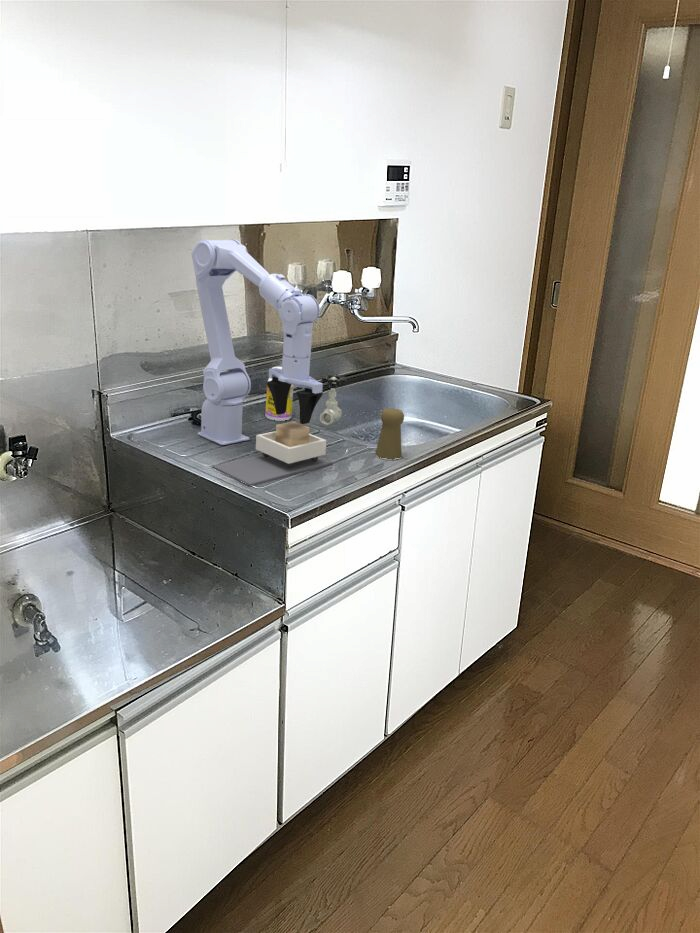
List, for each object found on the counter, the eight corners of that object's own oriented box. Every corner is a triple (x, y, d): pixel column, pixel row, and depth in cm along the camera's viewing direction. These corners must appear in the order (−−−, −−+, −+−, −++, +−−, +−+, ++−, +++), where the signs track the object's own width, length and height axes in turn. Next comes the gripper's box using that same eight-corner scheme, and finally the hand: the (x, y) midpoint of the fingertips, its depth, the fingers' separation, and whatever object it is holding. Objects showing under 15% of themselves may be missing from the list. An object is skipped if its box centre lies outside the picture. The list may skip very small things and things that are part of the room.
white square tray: (255, 456, 167) (256, 435, 166) (292, 447, 175) (293, 427, 173) (288, 471, 161) (289, 449, 159) (324, 461, 168) (326, 440, 166)
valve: (313, 424, 196) (316, 377, 191) (323, 418, 201) (326, 372, 197) (337, 429, 194) (341, 382, 189) (346, 422, 199) (350, 376, 195)
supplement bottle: (262, 419, 195) (264, 369, 191) (269, 413, 202) (271, 364, 197) (288, 423, 195) (291, 373, 190) (294, 416, 201) (297, 367, 196)
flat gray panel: (212, 468, 161) (212, 466, 160) (295, 448, 177) (295, 446, 176) (249, 486, 153) (249, 484, 153) (332, 464, 169) (332, 462, 169)
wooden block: (275, 446, 167) (276, 424, 165) (292, 442, 170) (293, 421, 169) (290, 453, 164) (292, 430, 162) (308, 449, 167) (309, 427, 165)
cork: (401, 453, 180) (407, 407, 176) (401, 461, 174) (406, 414, 171) (376, 450, 181) (380, 404, 177) (374, 458, 175) (378, 411, 171)
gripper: (258, 349, 162) (255, 412, 166) (306, 364, 153) (301, 430, 157) (284, 346, 167) (280, 407, 171) (331, 361, 157) (326, 425, 162)
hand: (292, 418), depth 165 cm, fingers open, 7 cm apart
